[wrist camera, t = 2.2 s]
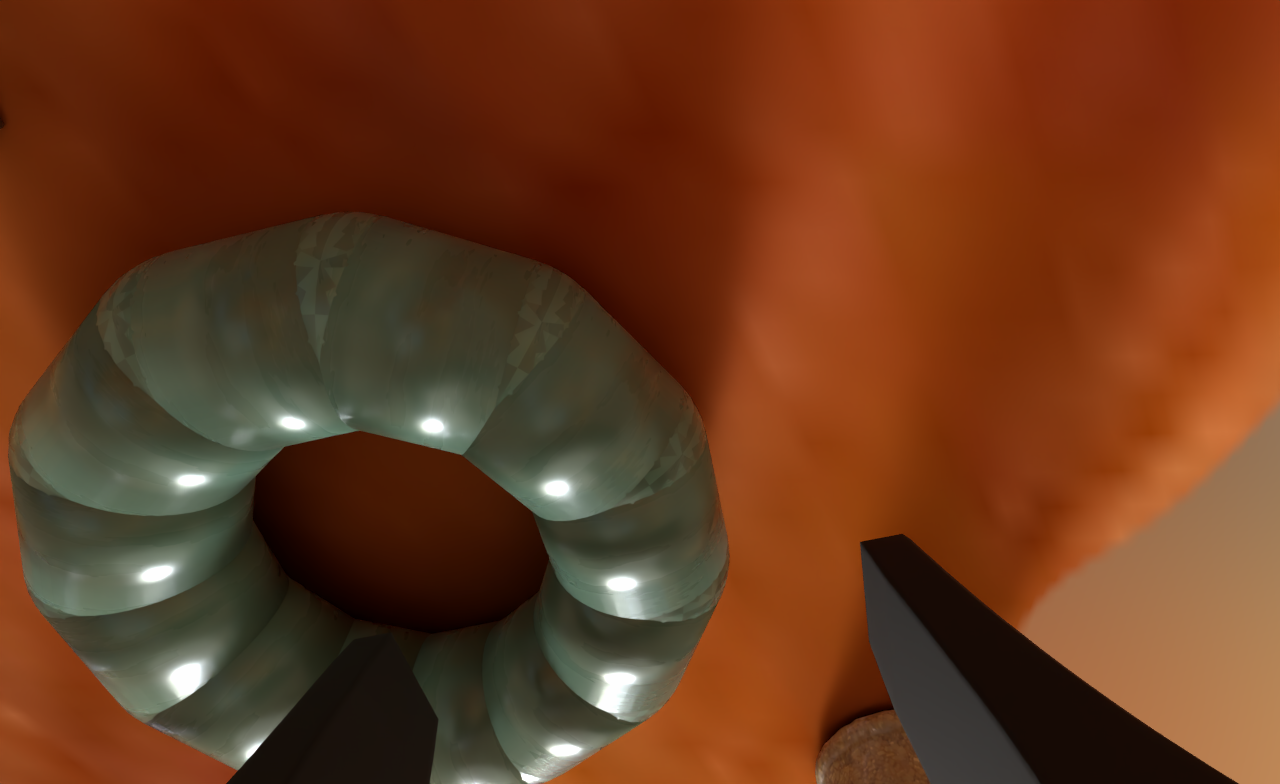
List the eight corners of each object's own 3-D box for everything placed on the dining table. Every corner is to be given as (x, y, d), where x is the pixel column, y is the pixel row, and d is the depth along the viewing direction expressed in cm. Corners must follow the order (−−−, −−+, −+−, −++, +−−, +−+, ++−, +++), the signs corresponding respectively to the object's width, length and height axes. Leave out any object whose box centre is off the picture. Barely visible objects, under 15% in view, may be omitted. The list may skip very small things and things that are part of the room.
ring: (284, 733, 18) (213, 876, 15) (-33, 292, 12) (-261, 370, 9) (748, 647, 17) (779, 780, 14) (640, 127, 11) (650, 149, 8)
